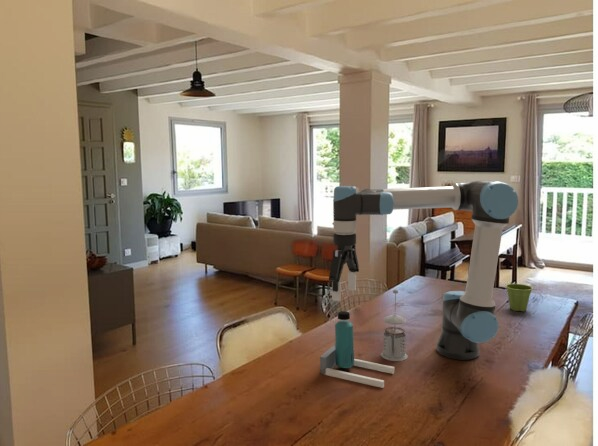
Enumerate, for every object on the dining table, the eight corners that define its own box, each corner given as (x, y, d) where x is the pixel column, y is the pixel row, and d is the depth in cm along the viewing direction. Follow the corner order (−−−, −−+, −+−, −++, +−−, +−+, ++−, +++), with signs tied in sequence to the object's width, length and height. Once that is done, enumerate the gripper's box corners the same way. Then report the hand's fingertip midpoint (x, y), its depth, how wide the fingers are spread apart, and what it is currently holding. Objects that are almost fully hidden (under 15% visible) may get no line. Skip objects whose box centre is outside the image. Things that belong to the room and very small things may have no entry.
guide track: (394, 372, 159) (394, 355, 158) (382, 388, 148) (383, 370, 147) (334, 360, 169) (335, 344, 169) (320, 373, 158) (320, 356, 158)
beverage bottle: (353, 373, 158) (352, 315, 156) (333, 371, 159) (333, 314, 158) (355, 365, 164) (354, 309, 163) (336, 364, 166) (335, 309, 164)
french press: (409, 352, 176) (410, 287, 173) (405, 364, 165) (407, 295, 162) (382, 348, 179) (384, 285, 176) (377, 361, 168) (378, 293, 165)
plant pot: (532, 308, 228) (534, 285, 226) (529, 314, 218) (531, 291, 216) (506, 304, 234) (507, 282, 232) (502, 310, 224) (503, 287, 222)
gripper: (348, 227, 167) (348, 285, 170) (318, 237, 146) (318, 303, 148) (368, 228, 164) (367, 287, 167) (340, 239, 142) (340, 306, 145)
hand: (344, 295), depth 158 cm, fingers open, 13 cm apart
